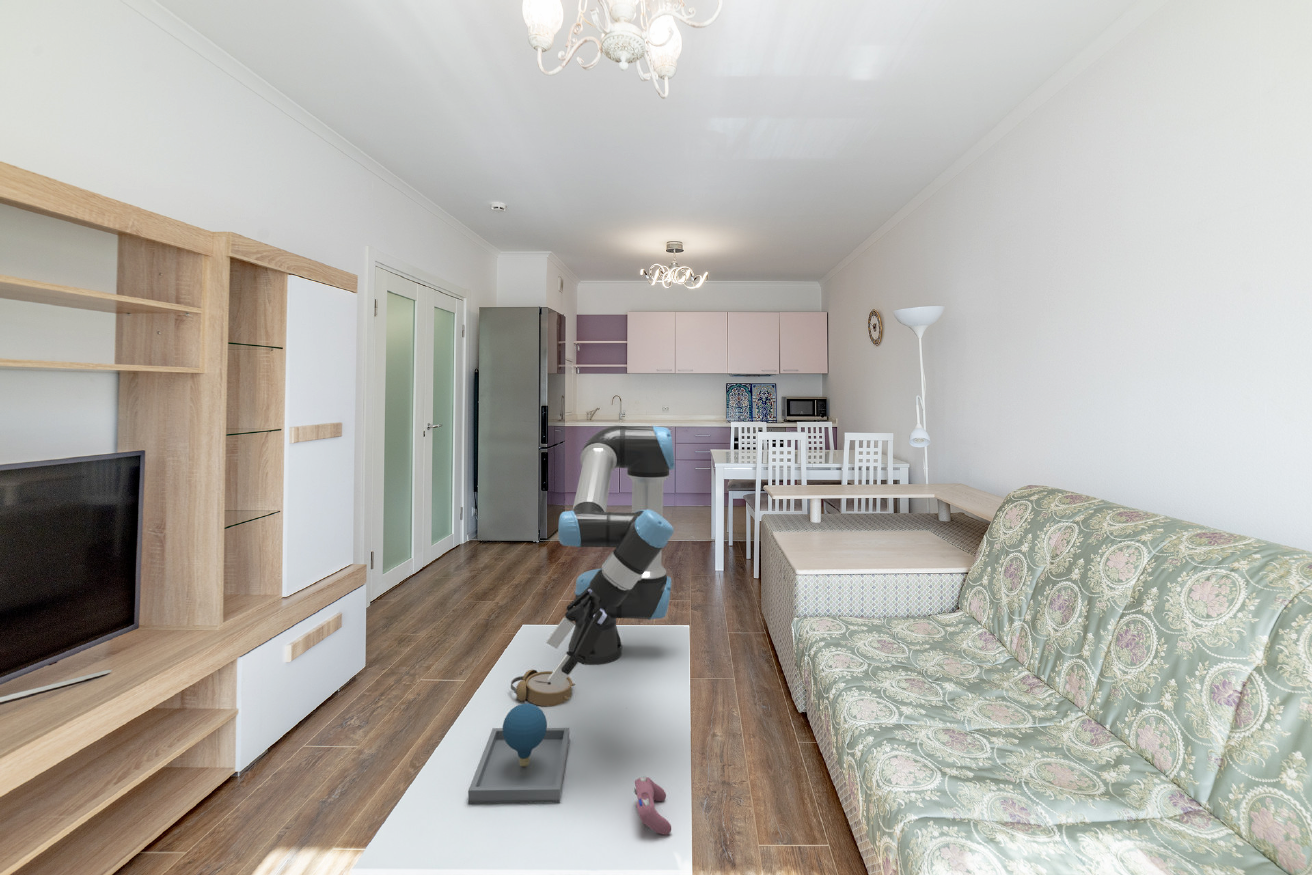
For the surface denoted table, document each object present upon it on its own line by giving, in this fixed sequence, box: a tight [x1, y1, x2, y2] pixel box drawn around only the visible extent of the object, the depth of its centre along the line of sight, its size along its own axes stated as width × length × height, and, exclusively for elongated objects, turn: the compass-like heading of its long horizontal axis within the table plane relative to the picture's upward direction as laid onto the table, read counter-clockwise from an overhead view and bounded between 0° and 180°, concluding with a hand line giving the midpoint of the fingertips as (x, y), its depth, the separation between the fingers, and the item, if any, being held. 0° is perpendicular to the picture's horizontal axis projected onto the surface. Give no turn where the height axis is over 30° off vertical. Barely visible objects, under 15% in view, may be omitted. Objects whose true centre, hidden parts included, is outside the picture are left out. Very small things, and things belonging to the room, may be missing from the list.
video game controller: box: [633, 775, 672, 836], centre depth 103 cm, size 10×5×7 cm, turn 5°
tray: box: [467, 727, 571, 805], centre depth 116 cm, size 20×16×2 cm
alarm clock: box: [510, 669, 576, 707], centre depth 145 cm, size 11×5×15 cm
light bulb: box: [502, 703, 548, 767], centre depth 116 cm, size 8×8×12 cm
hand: (552, 663), depth 121 cm, fingers open, 13 cm apart
